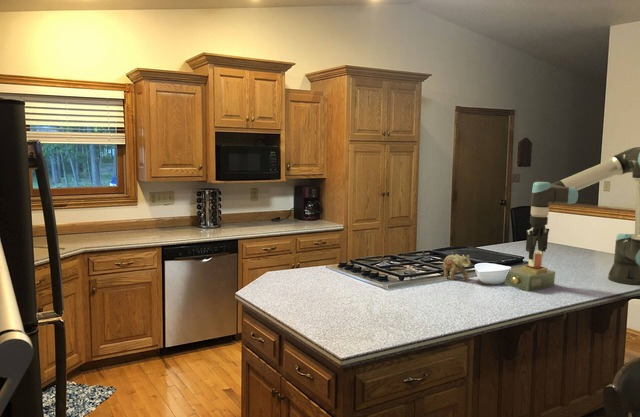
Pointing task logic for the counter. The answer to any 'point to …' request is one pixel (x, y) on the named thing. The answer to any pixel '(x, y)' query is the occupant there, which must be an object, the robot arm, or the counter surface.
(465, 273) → the figurine
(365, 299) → the counter surface
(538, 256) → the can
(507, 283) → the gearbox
